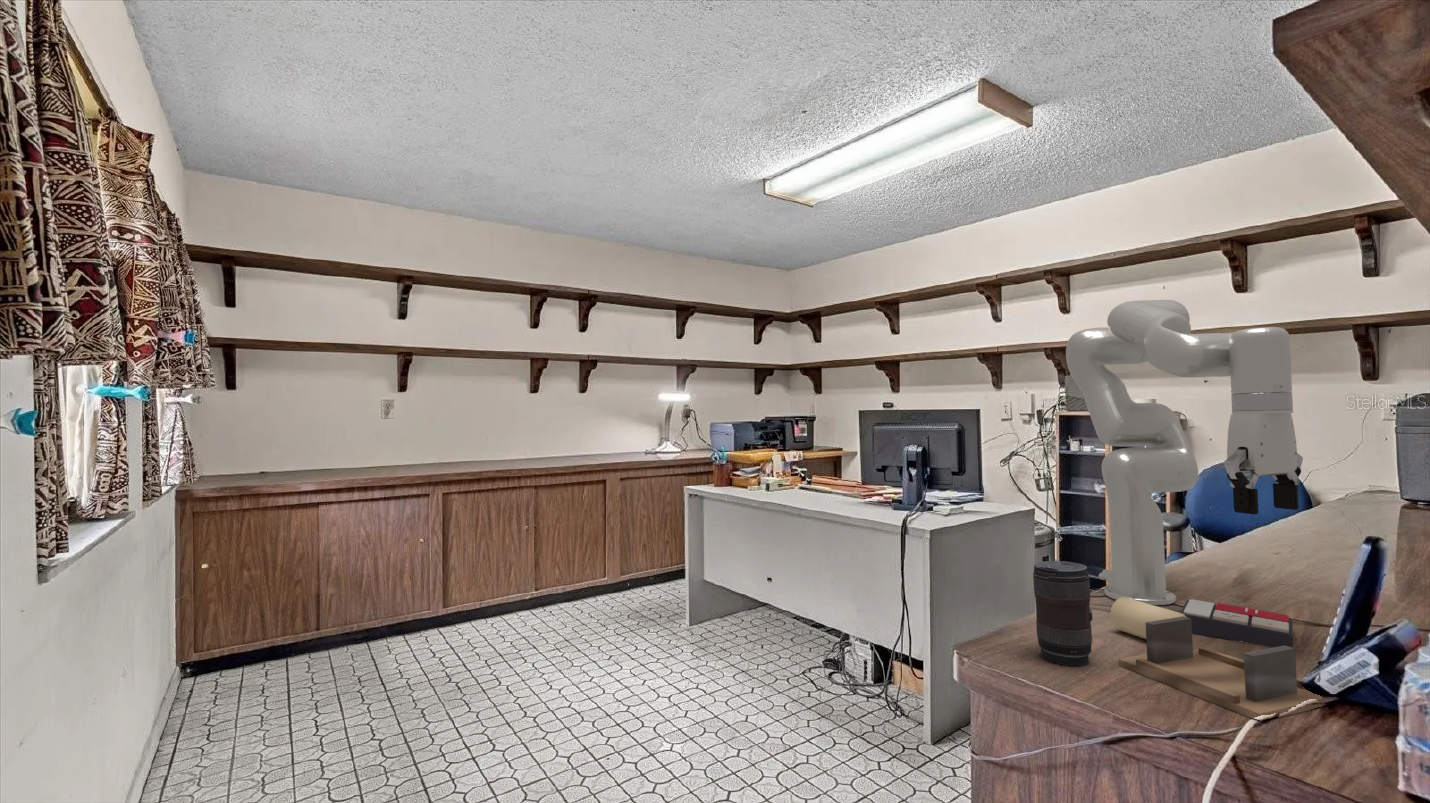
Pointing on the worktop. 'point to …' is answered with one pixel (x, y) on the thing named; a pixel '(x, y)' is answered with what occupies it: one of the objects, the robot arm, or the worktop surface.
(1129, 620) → the beige cylinder
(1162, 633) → the roll holder
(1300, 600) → the worktop surface
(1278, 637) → the calculator
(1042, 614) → the camera lens
